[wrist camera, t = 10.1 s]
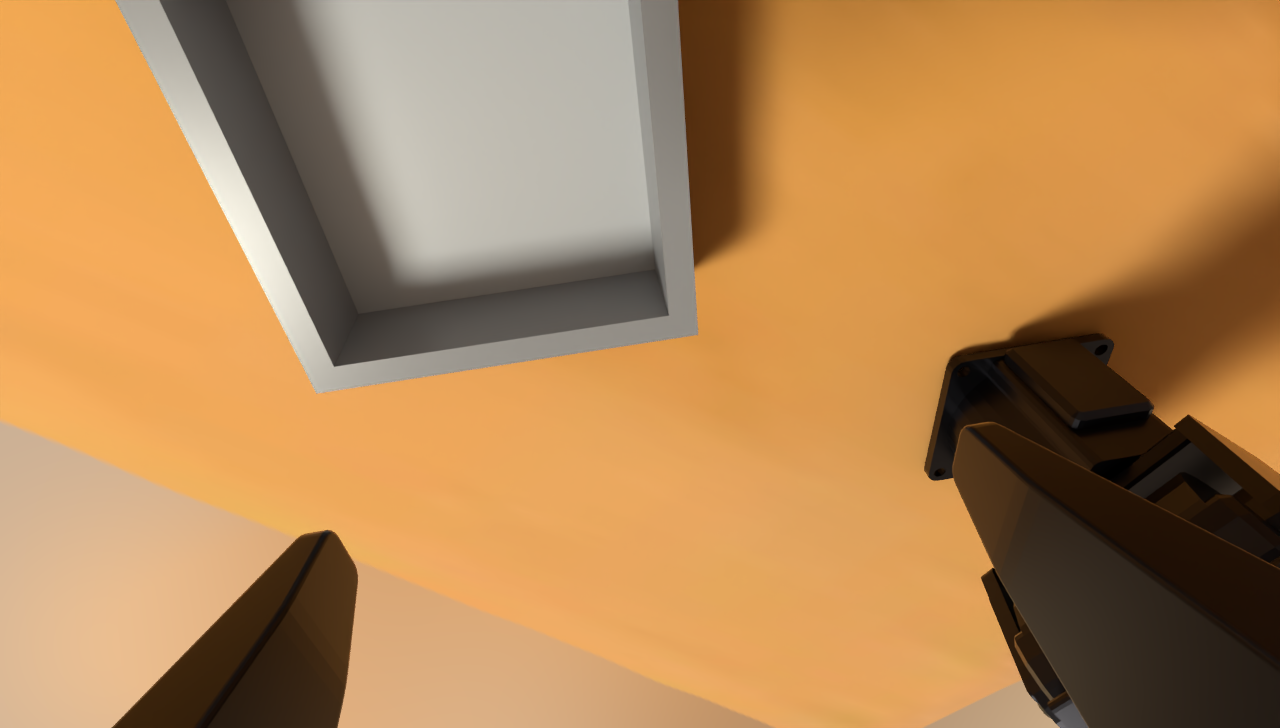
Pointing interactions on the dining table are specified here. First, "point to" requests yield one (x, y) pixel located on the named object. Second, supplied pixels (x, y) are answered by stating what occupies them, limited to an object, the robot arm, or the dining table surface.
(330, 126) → the tray
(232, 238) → the dining table surface
